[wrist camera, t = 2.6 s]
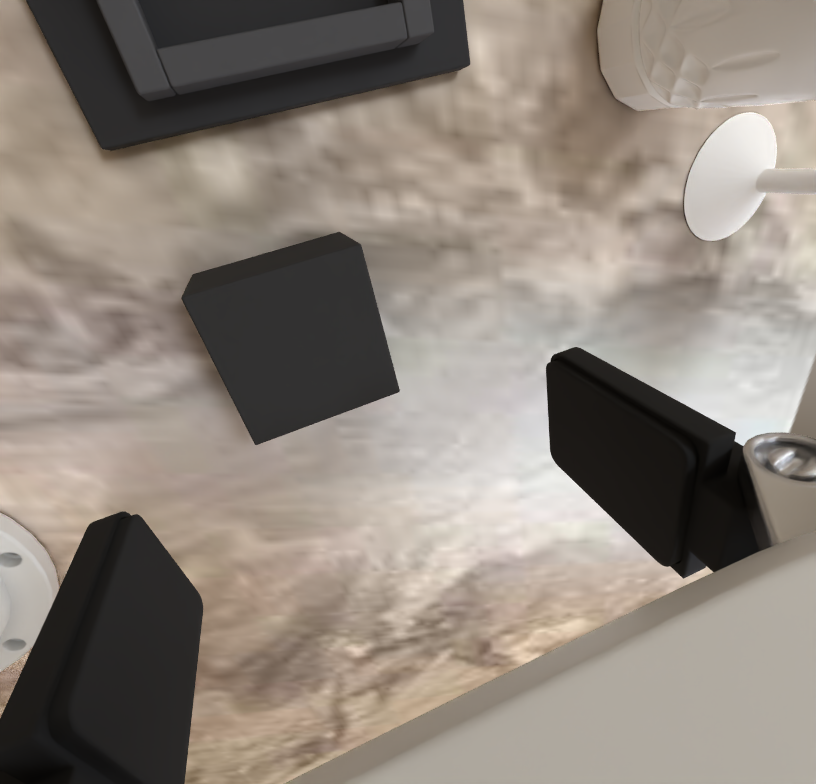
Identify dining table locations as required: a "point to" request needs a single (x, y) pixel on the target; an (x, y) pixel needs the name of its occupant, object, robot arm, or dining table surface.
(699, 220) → the champagne flute
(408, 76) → the base pad
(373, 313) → the black pad
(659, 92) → the white cup
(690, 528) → the robot arm
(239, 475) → the dining table surface
